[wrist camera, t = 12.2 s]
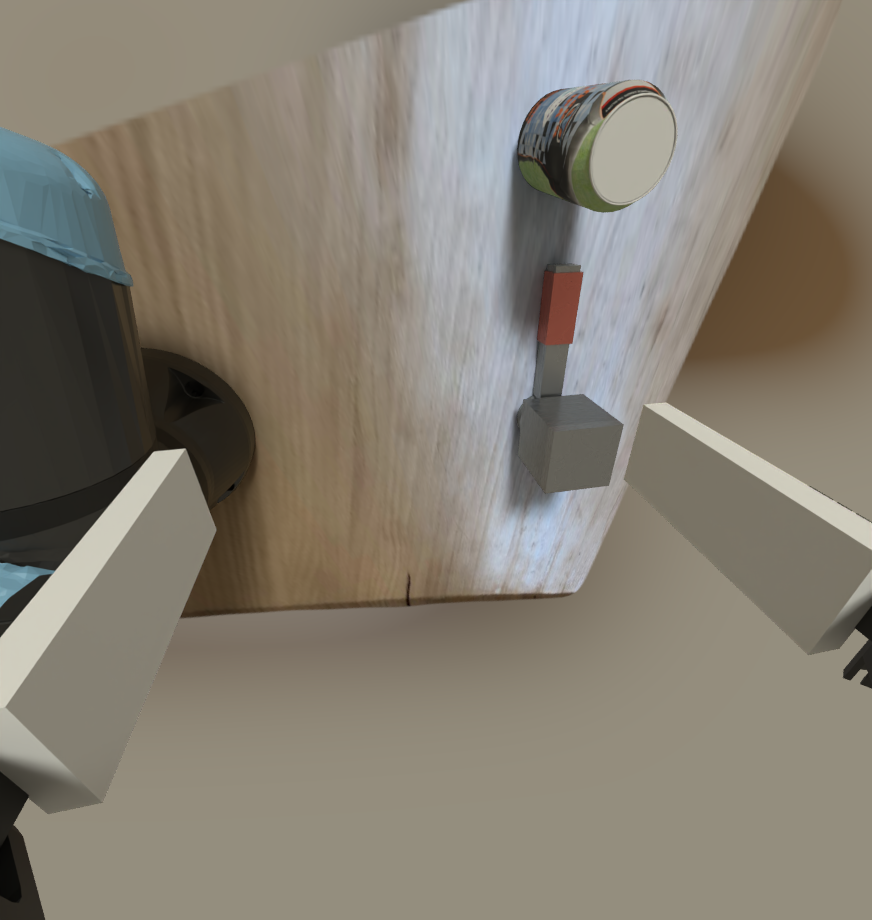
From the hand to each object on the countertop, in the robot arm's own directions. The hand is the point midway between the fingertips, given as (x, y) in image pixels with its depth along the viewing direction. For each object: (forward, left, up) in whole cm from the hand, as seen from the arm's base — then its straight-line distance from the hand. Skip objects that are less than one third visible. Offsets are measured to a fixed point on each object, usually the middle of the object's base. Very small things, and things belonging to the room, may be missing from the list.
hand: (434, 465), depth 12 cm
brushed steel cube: (+16, -12, -24) cm, 32 cm away
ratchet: (+16, -6, -27) cm, 32 cm away
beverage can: (+14, +10, -27) cm, 32 cm away
